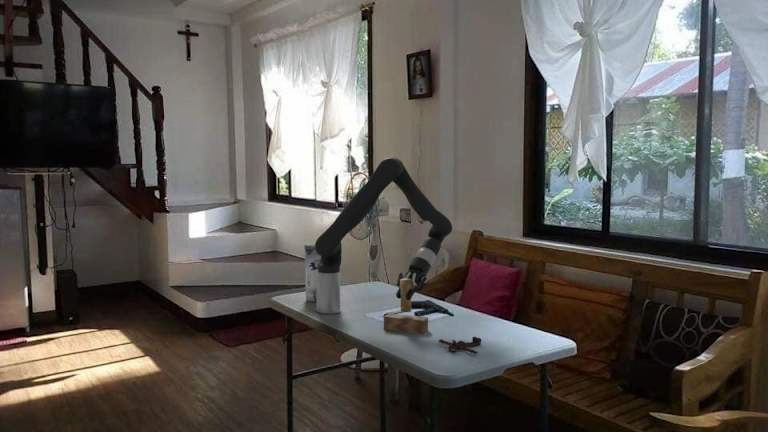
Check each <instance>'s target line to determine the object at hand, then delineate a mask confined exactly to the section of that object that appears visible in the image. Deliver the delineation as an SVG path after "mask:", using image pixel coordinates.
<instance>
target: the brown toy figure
mask: <svg viewBox="0 0 768 432" xmlns="http://www.w3.org/2000/svg"><path fill="white" fill-rule="evenodd" d="M438 342H439V343H441V344H445V345H447V346H444V347H443V349H444V350H448V352H450V353H455V352H456V351H465V352H469V353H471V354H475V355H477V354H478V351H476V350H475V349H472V348H473V347H479V346H481V345H482V344H481V343H482V338H480V337H477V336H472V340H471V342H465V341H464V340H458V341H456V340H455V339H453V340H452V342H449V341H447V340H443V339H441V338H440V339H438ZM470 348H471V349H470Z"/></svg>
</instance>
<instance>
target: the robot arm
mask: <svg viewBox="0 0 768 432" xmlns="http://www.w3.org/2000/svg"><path fill="white" fill-rule="evenodd" d="M392 182H393V183H394V184H395V185H396V186H397V187H398V188H399V189H400V190H401V192H402V194H404V196H405V198H406V199H407V201H408V203H409V205H410V207H411V208H412V210H413V211H414V212H415V213H416V215H418V216H419V218H420V219H421V220H422V221H423V222H429V223H430V224H431V227H430V228H429V231H428V233H427V235H426V238H425V239H424V241H423V243H422V244H421V246H420V247H419V249H418V250H417V252H416V254H415V255H414V257H413V259H412V261H411V262H410V264H409V267H408V271H406V273H402V272H400V273H399V274H398V278H397V282H396V286H397V287H398V289H397V292H396V294H395V296H396V298H397V299H400V300H401V285H400V279H411V288H410V289H409V291H408V293H407V294H406V296H405V298H406V299H407V300H410V299H411V300H412V297H413V296H414V294H416V293H417V292H418V293H420V292H421V291H422V290H423V289H424V288H425V287H426V286H427V285H428V284H429V283H430V280H429V279H428V278H427V275H428V274H429V271H430V270H431V269H432V266H433V264H434V262H435V260H436V258H437V256H438V254H439V252H440V251H441V248H442V243H443V241H444V240H445V239H446V238H447V237H448V236H449V235H450V234H451V233H452V231H453V224H452V222H451V221H450V219H449V218H448V217H447V216H446V215H444V214H443V213H442V212H441V211H439V210H438V209H437V208H436V207H435V206H434V205H433V204H432V202H431V201H430V200H429V199H428V197H426V195H425V194H424V193H423V191H422V190H421V189H420V188H419V187H418V185H417V184H416V183H415V181H414V180H413V179H412V177H411V175H410V174H409V172H408V170H407V169H406V167H405V165H404V163H403V162H402V161H401V159H400V158H397V157H386V158H384V159H382V161H380V162H379V164H378V165H377V167H376V169H375V170H374V172H373V173H372V175H371V176H370V178H368V180H367V181H366V183H364V185H363V186H361V188H360V189H358V191H357V192H356V193H355V194H354V195H353V197H351V199H350V200H349V201H348V202H347V203H346V205H345V207H344V208H343V209H342V210H341V211H340V213H339V214H338V216H337V217H336V219H335V220H334V221H333V222H332V224H330V226H328V228H327V229H326V230H325V231H324V232H323V233H321V235H320V236H319V237H318V238H317V239H316V240H315V243H314V244H315V250H316V252H317V254H318V255H320V256H321V260H320V263H319V265H318V289H317V290H316V301H317V302H316V313H321V314H325V315H327V314H328V315H332V314H338V313H340V312H341V264H342V252H343V251H342V240H343V239H344V238H345V237H346V236H347V234H349V233H350V232H351V231H353V229H354V228H356V227H358V225H360V224H361V222H362V221H364V220H365V218H366V217H367V216H368V215H369V214H370V213H371V212H372V210H373V209H374V207H375V205H376V203H377V201H378V199H379V198H380V196H381V194H382V193H383V191H385V189H386V188H387V187H388V186H389V185H390V184H391V183H392Z"/></svg>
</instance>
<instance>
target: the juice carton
mask: <svg viewBox="0 0 768 432" xmlns="http://www.w3.org/2000/svg"><path fill="white" fill-rule="evenodd" d="M320 260H321V256H320V255H318V254H317V252H316V250H315V243H314V244H305V245H304V276H305V277H304V282H305V287H304V288H305V300H306V301H307V300H308V302H312V301H313V303H317V301H316V290H317V289H318V265H319V263H320Z"/></svg>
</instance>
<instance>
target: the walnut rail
mask: <svg viewBox="0 0 768 432" xmlns="http://www.w3.org/2000/svg"><path fill="white" fill-rule="evenodd" d="M383 330H386V331H395V332H396V331H397V332H403V333H404V332H405V333H410V334H411V333H414V334H419V335H420V334H422V335H424V334H425V333H427V332H428V331H429V317H427V316H420V315H419V316H415V315H408V314H398V313H390V312H389V313H387V314H385V315H384V316H383Z"/></svg>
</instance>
